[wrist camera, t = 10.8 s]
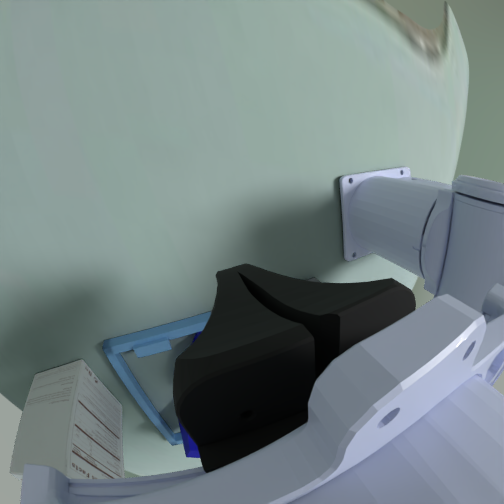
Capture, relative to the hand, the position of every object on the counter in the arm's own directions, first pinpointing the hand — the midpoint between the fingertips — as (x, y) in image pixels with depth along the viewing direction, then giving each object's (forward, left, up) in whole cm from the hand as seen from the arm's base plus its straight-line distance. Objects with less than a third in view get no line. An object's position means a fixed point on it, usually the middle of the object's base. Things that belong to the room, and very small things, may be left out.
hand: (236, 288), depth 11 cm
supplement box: (+17, +12, -10) cm, 23 cm away
